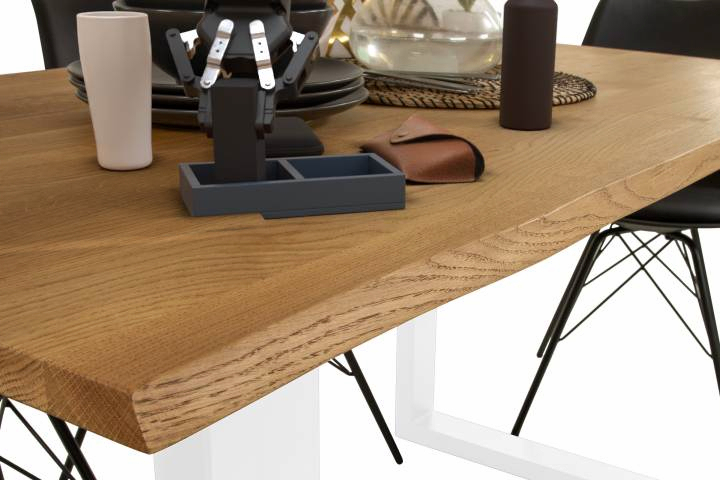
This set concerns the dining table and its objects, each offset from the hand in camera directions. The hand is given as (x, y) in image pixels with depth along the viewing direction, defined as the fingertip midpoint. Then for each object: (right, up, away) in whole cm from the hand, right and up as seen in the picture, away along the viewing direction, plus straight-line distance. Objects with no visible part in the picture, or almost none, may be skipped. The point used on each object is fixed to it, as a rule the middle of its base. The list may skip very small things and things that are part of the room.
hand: (235, 133), depth 85 cm
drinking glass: (-15, -1, +18) cm, 23 cm away
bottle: (+28, +8, +45) cm, 53 cm away
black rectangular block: (0, -4, +4) cm, 5 cm away
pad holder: (+4, -5, +6) cm, 9 cm away
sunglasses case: (+15, 0, +22) cm, 26 cm away
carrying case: (-2, +2, +25) cm, 25 cm away
